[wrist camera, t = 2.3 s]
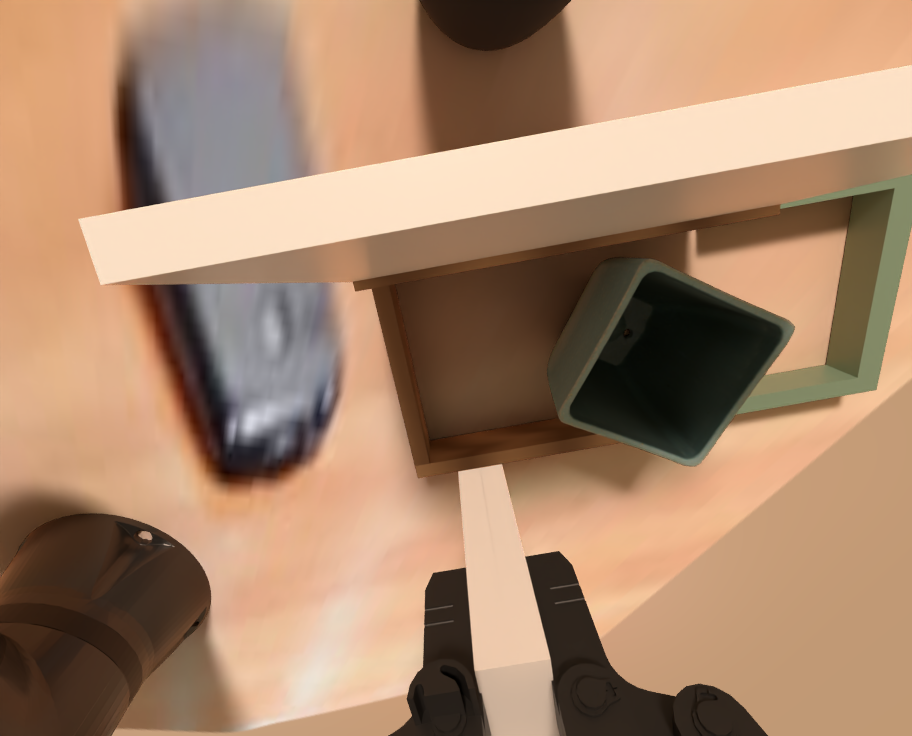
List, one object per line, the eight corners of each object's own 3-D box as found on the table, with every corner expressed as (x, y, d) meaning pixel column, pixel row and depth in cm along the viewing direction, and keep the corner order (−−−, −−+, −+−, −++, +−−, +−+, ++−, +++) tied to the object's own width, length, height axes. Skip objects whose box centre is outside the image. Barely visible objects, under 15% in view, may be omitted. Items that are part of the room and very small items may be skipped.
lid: (101, 285, 5) (78, 218, 5) (351, 282, 20) (347, 264, 19) (1732, -14, 5) (1762, -93, 5) (785, 203, 19) (785, 184, 19)
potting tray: (689, 403, 32) (709, 419, 29) (697, 197, 26) (722, 197, 24) (843, 375, 32) (876, 390, 29) (882, 163, 26) (925, 160, 24)
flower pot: (627, 400, 31) (698, 472, 23) (520, 359, 30) (555, 421, 21) (694, 289, 29) (802, 326, 20) (579, 237, 27) (645, 254, 19)
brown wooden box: (419, 454, 32) (415, 524, 25) (371, 251, 27) (349, 270, 20) (682, 407, 32) (752, 465, 25) (689, 193, 26) (781, 191, 19)
